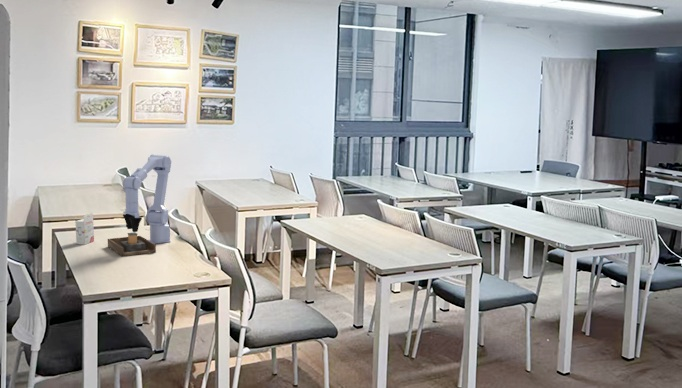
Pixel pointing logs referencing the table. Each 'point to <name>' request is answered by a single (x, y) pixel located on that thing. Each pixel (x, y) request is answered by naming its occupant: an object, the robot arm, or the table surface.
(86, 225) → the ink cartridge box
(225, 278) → the table surface
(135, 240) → the plug
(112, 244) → the brown wooden box
